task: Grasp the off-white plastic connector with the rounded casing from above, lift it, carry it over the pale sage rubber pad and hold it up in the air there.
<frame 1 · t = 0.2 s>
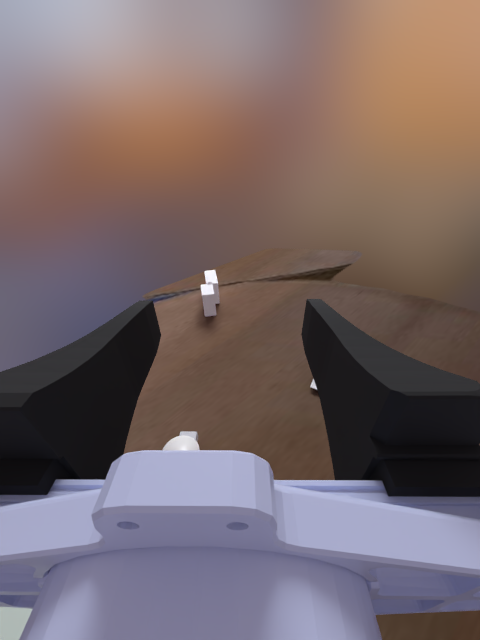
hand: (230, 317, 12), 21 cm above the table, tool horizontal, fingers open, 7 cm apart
connector: (181, 501, 25), on the table
sage pad: (19, 626, 19), on the table
white upright tiles: (209, 305, 57), on the table
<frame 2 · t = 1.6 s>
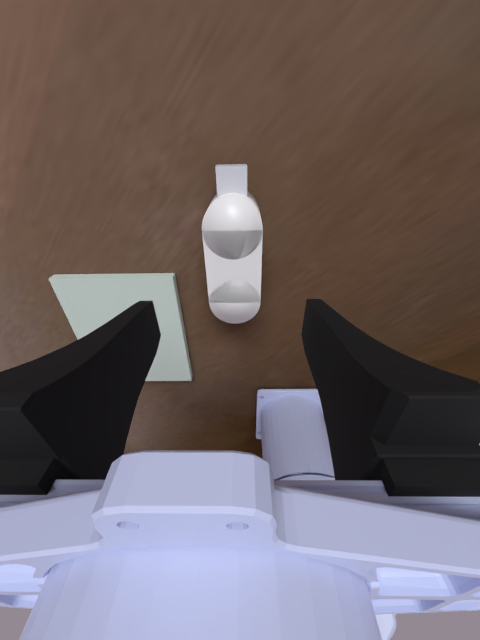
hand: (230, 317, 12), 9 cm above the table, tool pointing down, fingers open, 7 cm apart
connector: (235, 248, 20), on the table
sage pad: (132, 331, 25), on the table
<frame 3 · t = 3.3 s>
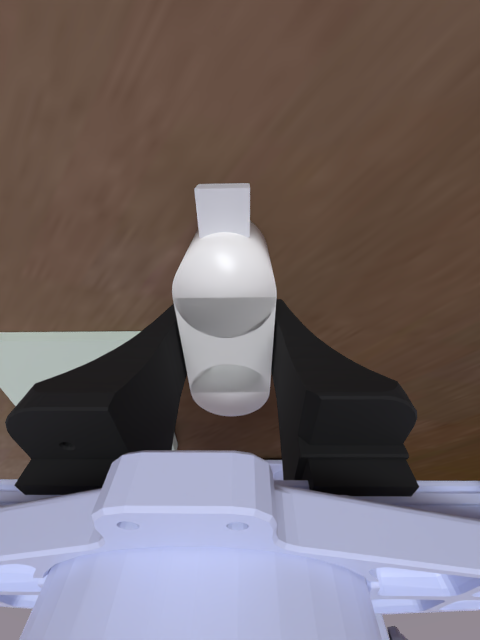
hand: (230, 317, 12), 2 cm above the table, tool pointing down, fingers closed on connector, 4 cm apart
connector: (231, 300, 14), on the table, touching gripper
sage pad: (94, 398, 19), on the table
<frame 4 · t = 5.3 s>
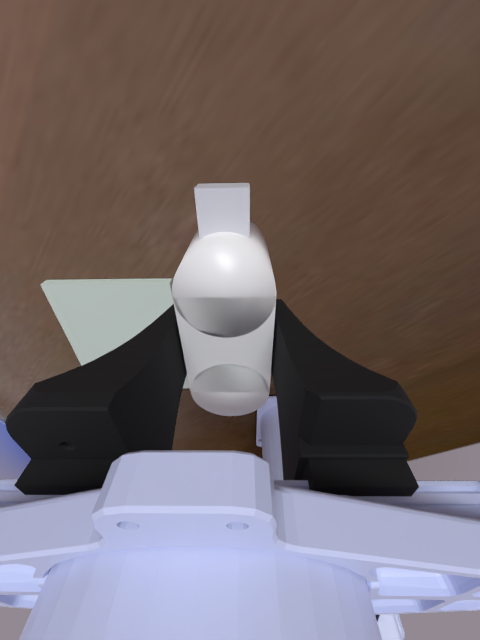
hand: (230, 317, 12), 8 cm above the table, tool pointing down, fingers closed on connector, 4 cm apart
connector: (231, 300, 14), point 7 cm above the table, touching gripper
sage pad: (128, 338, 24), on the table
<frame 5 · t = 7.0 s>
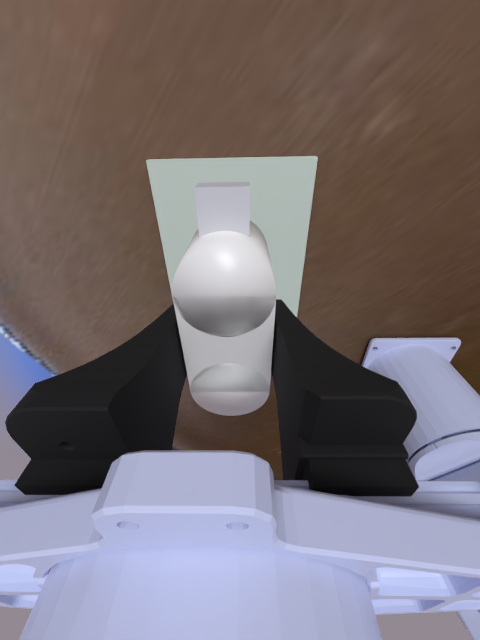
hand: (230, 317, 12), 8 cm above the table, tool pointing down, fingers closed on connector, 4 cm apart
connector: (231, 299, 14), point 7 cm above the table, touching gripper
sage pad: (234, 253, 19), on the table
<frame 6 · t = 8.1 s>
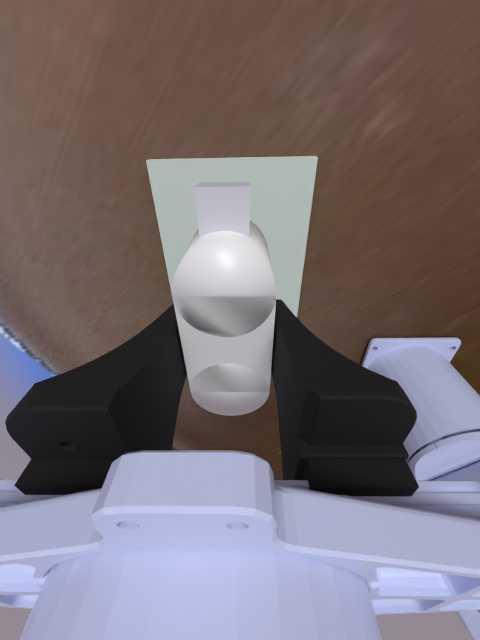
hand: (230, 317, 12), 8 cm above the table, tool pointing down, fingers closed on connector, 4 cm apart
connector: (231, 299, 14), point 7 cm above the table, touching gripper
sage pad: (234, 253, 19), on the table
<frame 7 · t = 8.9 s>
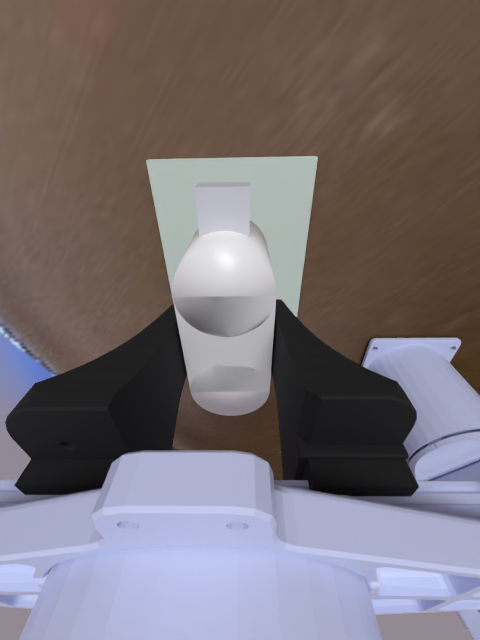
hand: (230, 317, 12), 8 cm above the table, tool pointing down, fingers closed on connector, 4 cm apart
connector: (231, 299, 14), point 7 cm above the table, touching gripper
sage pad: (234, 253, 19), on the table
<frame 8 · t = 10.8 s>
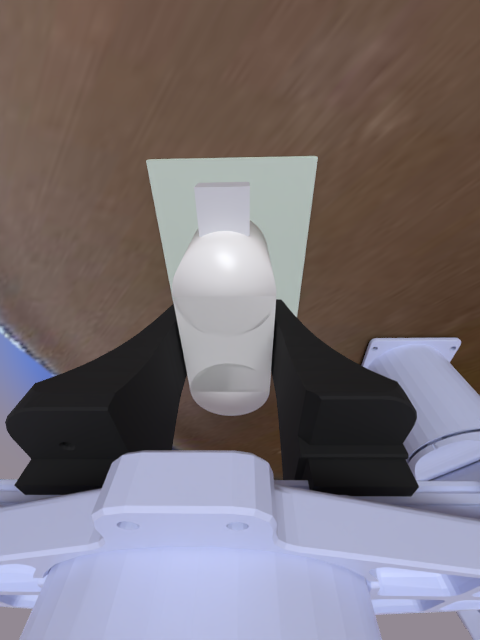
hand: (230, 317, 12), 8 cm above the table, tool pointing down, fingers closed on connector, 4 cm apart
connector: (231, 299, 14), point 7 cm above the table, touching gripper
sage pad: (234, 253, 19), on the table
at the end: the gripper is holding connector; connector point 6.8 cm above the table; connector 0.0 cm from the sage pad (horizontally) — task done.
